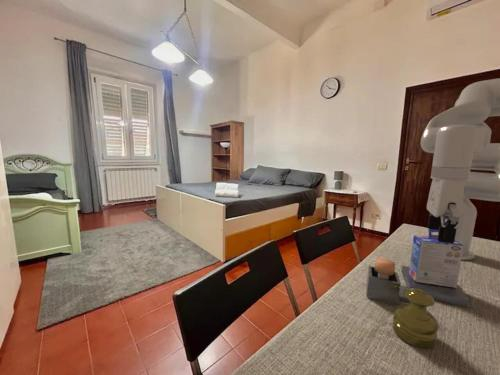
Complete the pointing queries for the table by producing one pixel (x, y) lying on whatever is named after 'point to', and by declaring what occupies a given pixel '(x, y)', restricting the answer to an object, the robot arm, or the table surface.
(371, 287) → the frame
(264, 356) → the table surface
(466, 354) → the table surface
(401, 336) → the olive green swirled figurine
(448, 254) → the ink cartridge box
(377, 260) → the brown oval egg shape
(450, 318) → the table surface
